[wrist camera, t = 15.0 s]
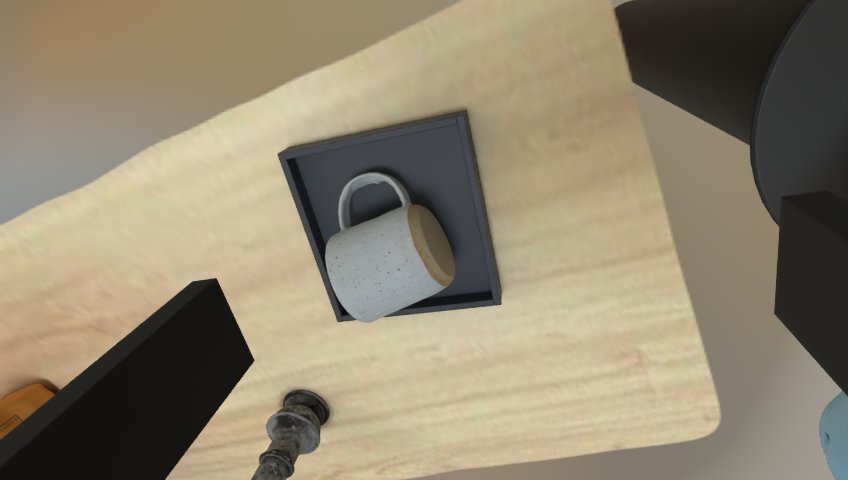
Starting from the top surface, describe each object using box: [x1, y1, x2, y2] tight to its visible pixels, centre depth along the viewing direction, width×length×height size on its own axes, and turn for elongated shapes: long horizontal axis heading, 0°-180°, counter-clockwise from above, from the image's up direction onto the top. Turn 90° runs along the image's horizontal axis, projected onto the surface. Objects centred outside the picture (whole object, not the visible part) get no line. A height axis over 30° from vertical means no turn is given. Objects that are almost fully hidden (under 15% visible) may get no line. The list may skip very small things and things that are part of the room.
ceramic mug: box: [325, 172, 455, 323], centre depth 37 cm, size 11×8×8 cm
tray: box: [278, 110, 502, 322], centre depth 40 cm, size 15×16×2 cm
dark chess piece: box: [251, 390, 329, 480], centre depth 47 cm, size 6×6×12 cm
